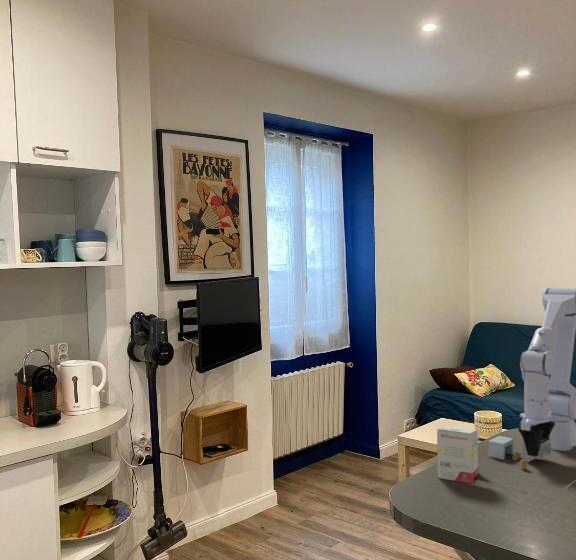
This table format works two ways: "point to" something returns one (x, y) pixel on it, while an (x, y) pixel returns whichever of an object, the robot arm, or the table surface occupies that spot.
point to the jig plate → (522, 463)
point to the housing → (501, 447)
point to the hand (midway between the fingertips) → (536, 452)
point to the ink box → (457, 453)
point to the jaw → (541, 448)
